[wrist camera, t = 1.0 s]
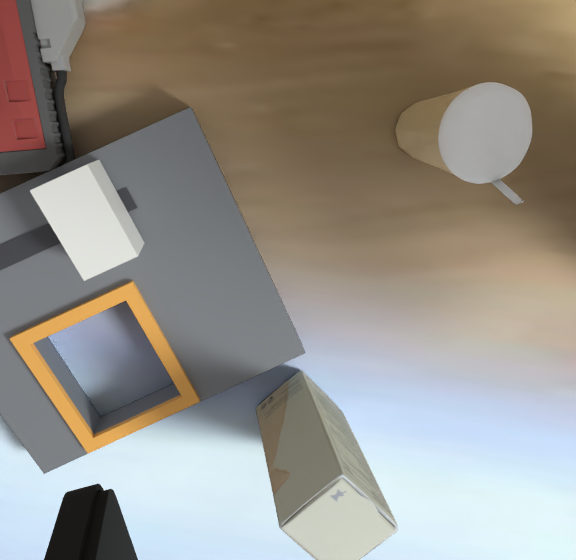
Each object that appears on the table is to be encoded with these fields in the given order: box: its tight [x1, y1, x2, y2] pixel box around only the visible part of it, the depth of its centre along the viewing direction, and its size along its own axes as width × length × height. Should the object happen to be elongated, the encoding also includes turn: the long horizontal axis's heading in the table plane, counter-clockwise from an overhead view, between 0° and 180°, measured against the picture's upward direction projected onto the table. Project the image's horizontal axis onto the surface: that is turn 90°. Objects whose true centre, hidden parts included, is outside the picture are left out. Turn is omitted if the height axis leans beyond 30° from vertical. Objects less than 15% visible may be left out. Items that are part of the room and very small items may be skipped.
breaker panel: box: [0, 107, 305, 474], centre depth 31 cm, size 18×16×2 cm
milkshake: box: [395, 82, 532, 204], centre depth 28 cm, size 4×5×10 cm
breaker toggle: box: [30, 160, 144, 281], centre depth 27 cm, size 3×5×3 cm, turn 23°
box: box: [256, 371, 398, 560], centre depth 32 cm, size 5×4×11 cm
